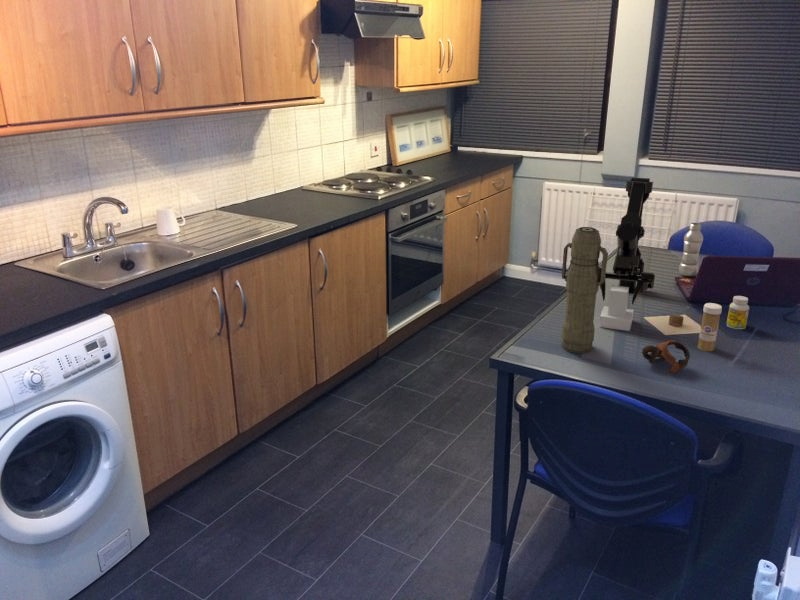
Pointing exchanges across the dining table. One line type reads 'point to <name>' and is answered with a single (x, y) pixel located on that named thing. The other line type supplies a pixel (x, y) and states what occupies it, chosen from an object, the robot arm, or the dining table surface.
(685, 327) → the mat
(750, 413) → the dining table surface
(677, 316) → the puck
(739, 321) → the supplement bottle
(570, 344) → the thermos
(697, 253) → the plastic bottle
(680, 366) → the pottery mug
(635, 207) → the robot arm
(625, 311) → the cover
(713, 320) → the sprinkles bottle
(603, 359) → the dining table surface
